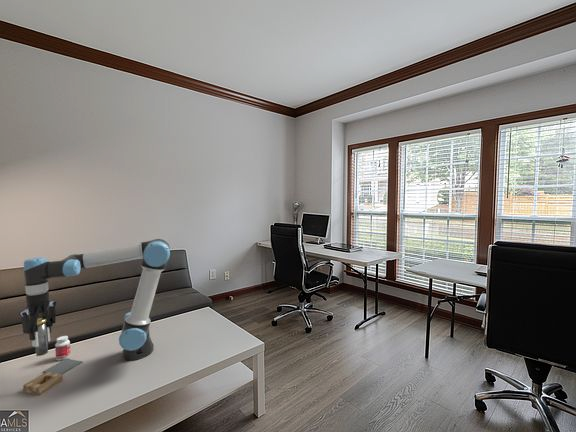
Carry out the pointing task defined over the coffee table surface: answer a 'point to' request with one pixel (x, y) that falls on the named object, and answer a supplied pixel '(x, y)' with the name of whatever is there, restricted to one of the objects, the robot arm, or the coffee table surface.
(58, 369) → the rubber mat
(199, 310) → the coffee table surface
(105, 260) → the robot arm
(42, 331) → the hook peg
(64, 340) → the pill bottle
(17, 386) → the coffee table surface
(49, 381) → the block
